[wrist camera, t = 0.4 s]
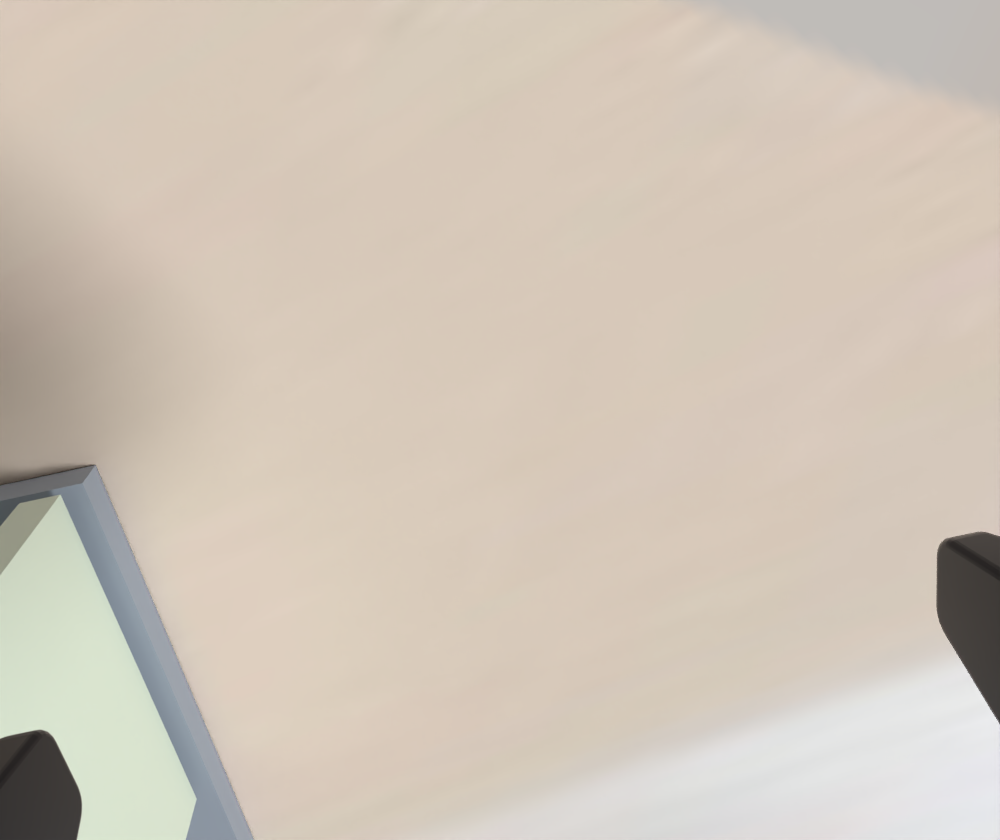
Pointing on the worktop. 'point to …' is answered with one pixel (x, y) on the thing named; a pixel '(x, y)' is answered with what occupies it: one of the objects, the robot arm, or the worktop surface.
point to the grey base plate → (143, 642)
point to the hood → (82, 682)
